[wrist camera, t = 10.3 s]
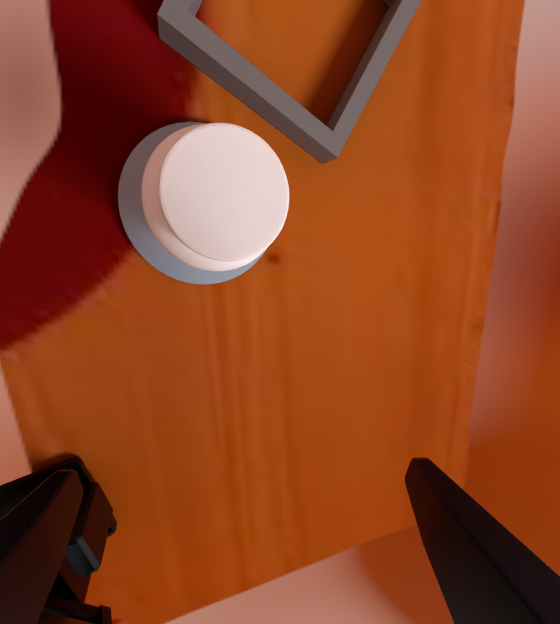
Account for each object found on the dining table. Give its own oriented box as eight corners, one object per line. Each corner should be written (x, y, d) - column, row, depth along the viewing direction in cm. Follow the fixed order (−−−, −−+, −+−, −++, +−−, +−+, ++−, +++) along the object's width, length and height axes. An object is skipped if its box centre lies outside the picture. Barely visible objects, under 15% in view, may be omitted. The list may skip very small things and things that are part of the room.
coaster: (153, 300, 19) (153, 302, 19) (92, 141, 17) (89, 138, 16) (287, 260, 21) (290, 261, 21) (253, 112, 19) (255, 109, 18)
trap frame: (322, 164, 21) (337, 157, 19) (159, 38, 16) (157, 14, 15) (407, 4, 20) (431, -19, 18) (258, -171, 16) (269, -225, 14)
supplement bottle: (149, 251, 18) (122, 272, 9) (155, 150, 17) (132, 59, 8) (241, 263, 20) (296, 290, 11) (252, 172, 19) (324, 119, 10)
